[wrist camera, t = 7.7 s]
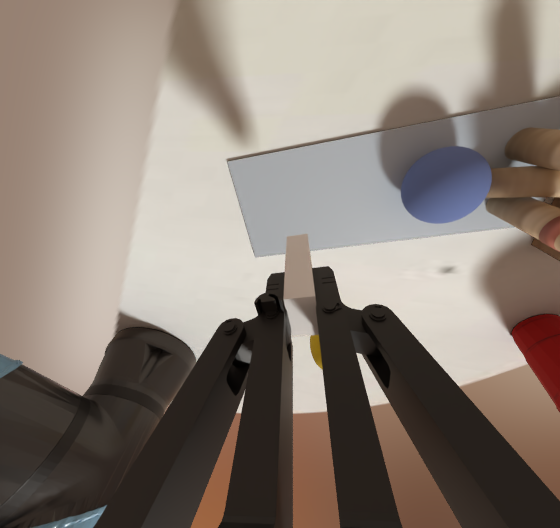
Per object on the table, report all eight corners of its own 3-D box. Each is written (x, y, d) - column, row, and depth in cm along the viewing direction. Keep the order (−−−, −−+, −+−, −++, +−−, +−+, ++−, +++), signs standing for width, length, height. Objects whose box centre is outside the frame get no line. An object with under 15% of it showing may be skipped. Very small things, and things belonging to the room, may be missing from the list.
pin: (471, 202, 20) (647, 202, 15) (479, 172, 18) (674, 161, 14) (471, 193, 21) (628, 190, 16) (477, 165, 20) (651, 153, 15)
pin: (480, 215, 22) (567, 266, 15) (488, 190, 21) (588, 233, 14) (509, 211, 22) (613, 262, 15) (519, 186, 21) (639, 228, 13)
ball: (471, 208, 21) (398, 215, 23) (481, 136, 18) (398, 153, 21) (498, 230, 16) (403, 237, 19) (516, 137, 14) (403, 159, 16)
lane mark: (255, 256, 28) (255, 257, 27) (227, 161, 22) (227, 161, 21) (530, 224, 23) (532, 225, 22) (594, 89, 17) (597, 89, 16)
